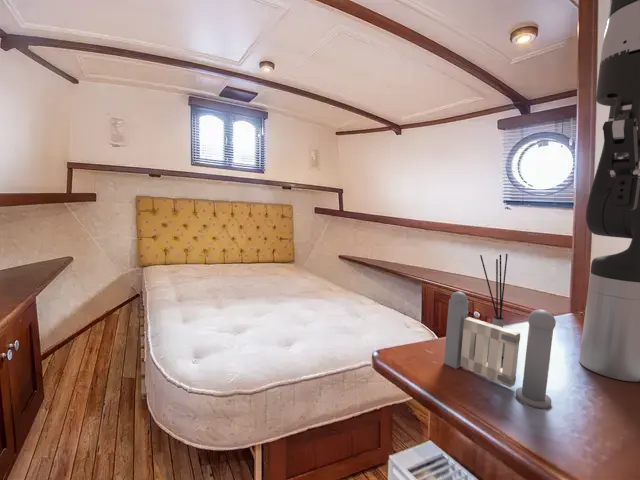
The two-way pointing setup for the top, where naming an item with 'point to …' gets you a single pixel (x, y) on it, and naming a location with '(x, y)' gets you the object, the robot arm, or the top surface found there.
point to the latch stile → (455, 329)
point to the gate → (490, 350)
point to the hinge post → (537, 360)
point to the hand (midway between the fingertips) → (622, 209)
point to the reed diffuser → (497, 320)
